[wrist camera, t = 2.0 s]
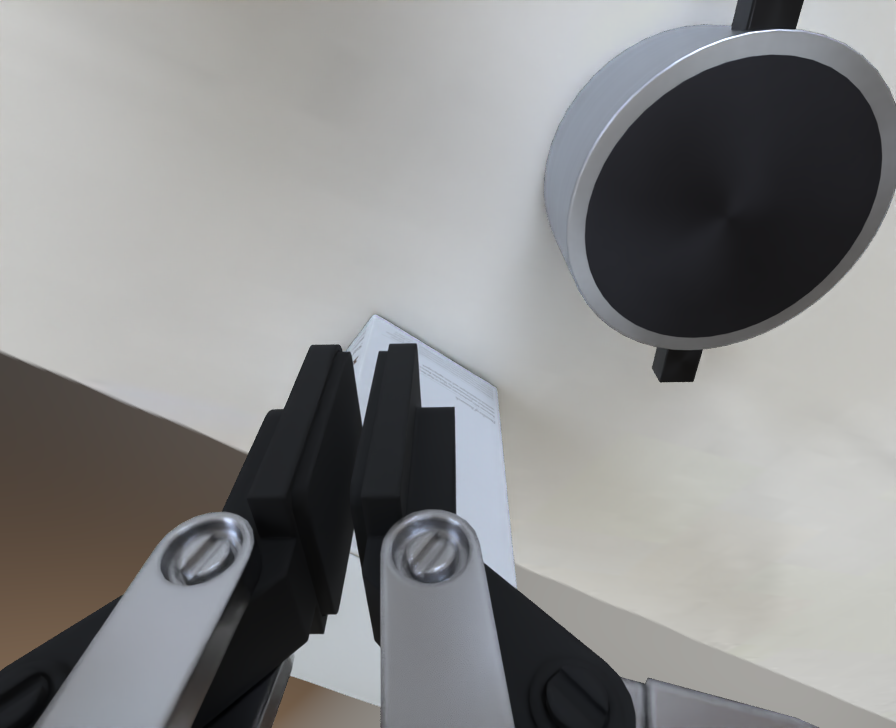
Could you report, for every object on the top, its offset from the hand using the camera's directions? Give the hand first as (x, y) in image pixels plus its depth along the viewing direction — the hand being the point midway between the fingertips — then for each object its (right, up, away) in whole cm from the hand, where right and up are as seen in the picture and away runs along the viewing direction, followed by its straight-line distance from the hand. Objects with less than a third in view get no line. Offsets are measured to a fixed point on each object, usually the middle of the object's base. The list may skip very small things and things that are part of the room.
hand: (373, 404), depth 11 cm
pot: (+12, +10, +14) cm, 21 cm away
